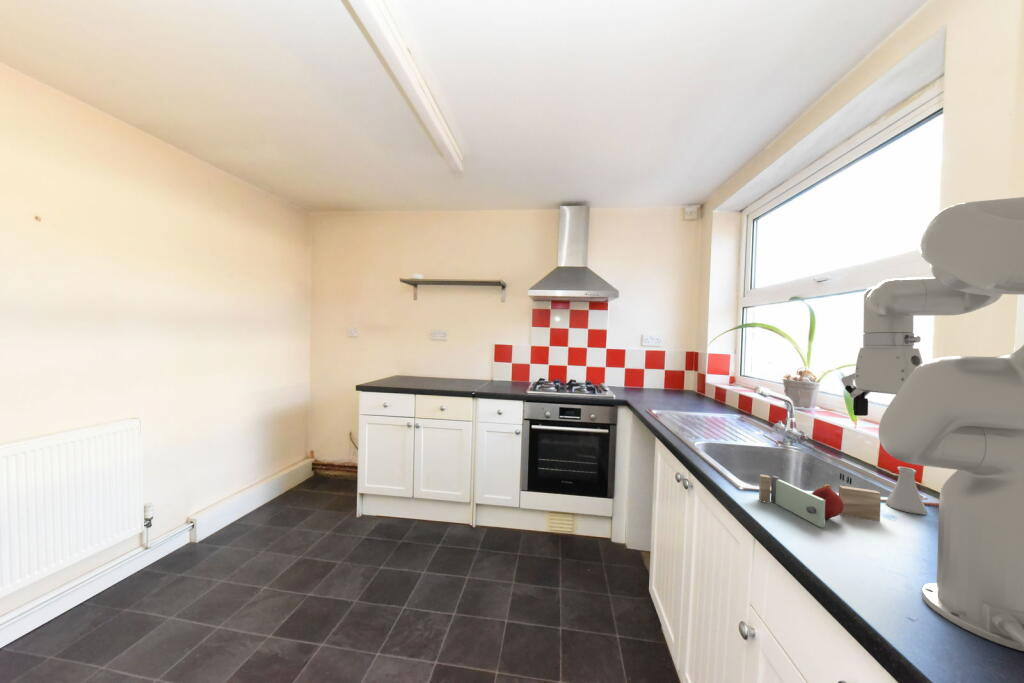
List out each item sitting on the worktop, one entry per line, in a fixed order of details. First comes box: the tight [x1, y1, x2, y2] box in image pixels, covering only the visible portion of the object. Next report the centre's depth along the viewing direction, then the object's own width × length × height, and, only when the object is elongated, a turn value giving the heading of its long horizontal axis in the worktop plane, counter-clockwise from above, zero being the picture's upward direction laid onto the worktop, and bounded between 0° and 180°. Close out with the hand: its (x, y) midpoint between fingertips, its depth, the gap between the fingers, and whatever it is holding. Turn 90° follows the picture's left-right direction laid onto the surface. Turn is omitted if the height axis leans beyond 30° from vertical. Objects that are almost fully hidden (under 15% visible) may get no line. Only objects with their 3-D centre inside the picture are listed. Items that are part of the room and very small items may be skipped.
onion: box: [811, 484, 844, 520], centre depth 83 cm, size 6×6×8 cm
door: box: [770, 475, 826, 528], centre depth 85 cm, size 2×13×6 cm, turn 7°
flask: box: [884, 466, 928, 516], centre depth 89 cm, size 7×7×10 cm
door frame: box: [758, 474, 882, 522], centre depth 87 cm, size 2×23×6 cm, turn 67°
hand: (886, 419), depth 77 cm, fingers open, 9 cm apart
